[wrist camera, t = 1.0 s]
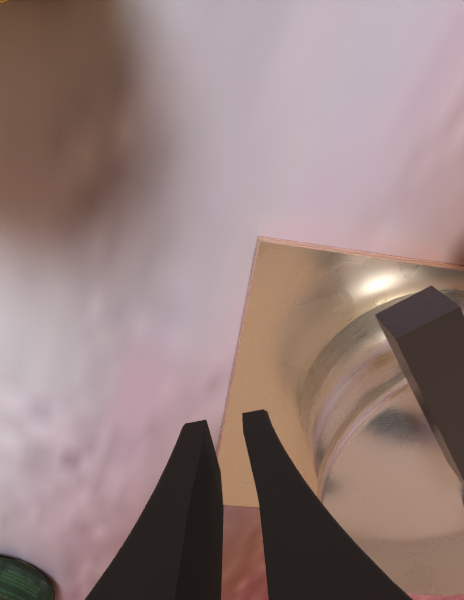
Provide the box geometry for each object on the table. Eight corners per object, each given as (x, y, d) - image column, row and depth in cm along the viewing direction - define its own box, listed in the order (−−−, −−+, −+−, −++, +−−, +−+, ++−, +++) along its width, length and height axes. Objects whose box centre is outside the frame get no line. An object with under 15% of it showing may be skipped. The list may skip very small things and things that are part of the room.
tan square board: (637, 213, 20) (799, 247, 14) (465, 509, 29) (524, 600, 23) (274, 151, 18) (302, 162, 12) (209, 490, 27) (208, 585, 21)
